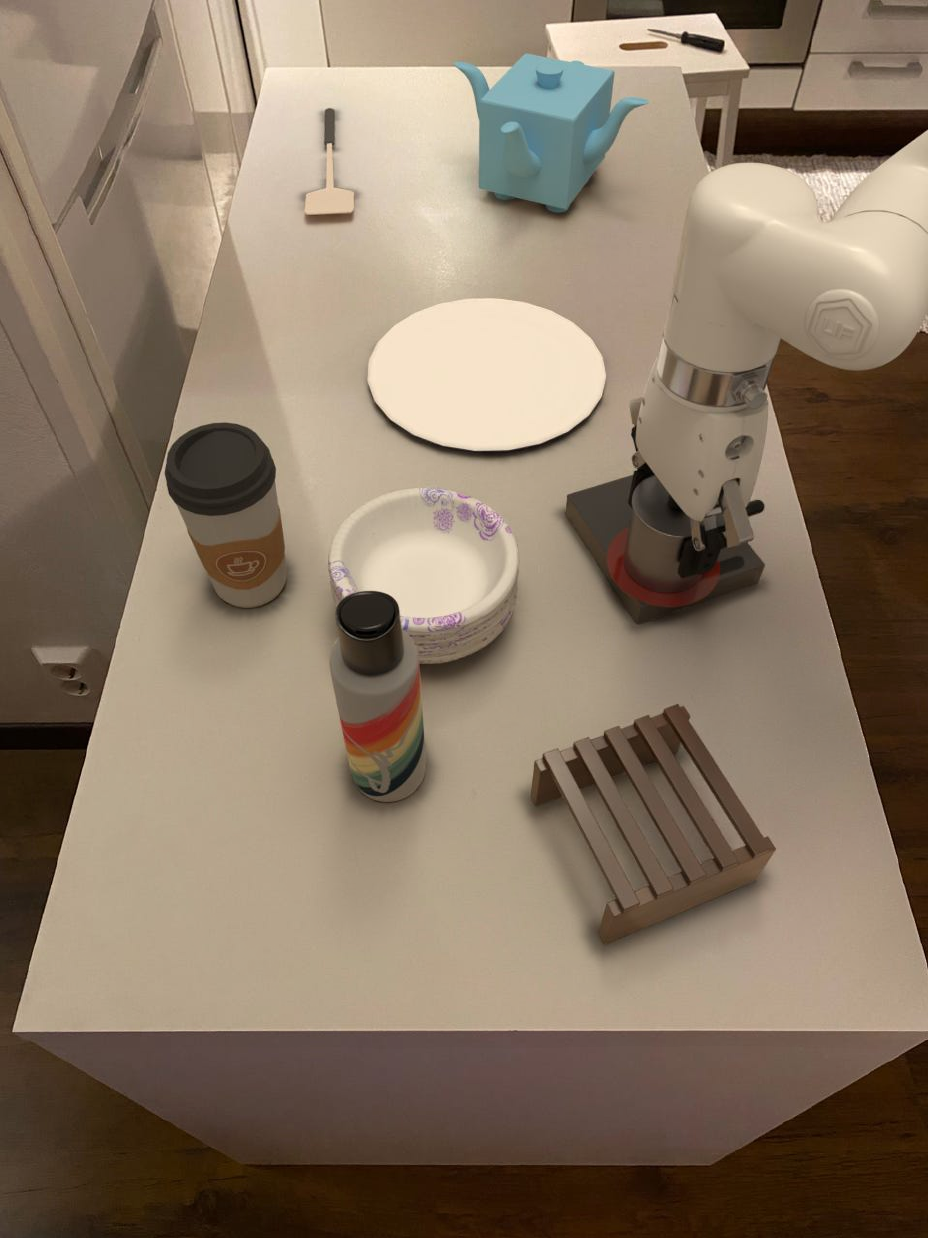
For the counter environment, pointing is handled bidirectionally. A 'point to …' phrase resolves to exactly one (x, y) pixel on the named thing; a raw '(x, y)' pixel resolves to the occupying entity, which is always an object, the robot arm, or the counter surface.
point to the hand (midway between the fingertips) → (670, 534)
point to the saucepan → (662, 537)
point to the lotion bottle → (378, 696)
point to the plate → (486, 375)
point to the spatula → (329, 181)
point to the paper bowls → (431, 567)
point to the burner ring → (649, 596)
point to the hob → (609, 514)
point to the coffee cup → (230, 510)
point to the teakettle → (545, 128)
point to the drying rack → (628, 755)
